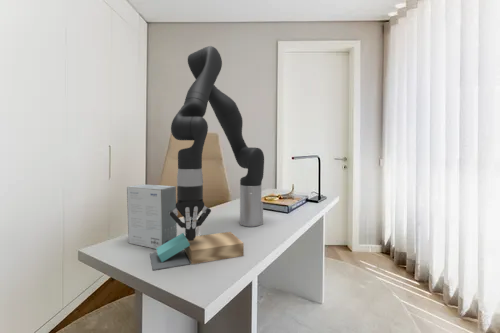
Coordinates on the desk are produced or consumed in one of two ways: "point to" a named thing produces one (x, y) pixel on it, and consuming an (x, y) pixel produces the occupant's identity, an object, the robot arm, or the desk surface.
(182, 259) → the mat
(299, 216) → the desk surface
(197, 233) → the chess piece
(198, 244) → the tan wooden flat box
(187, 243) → the block
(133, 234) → the hard drive box
